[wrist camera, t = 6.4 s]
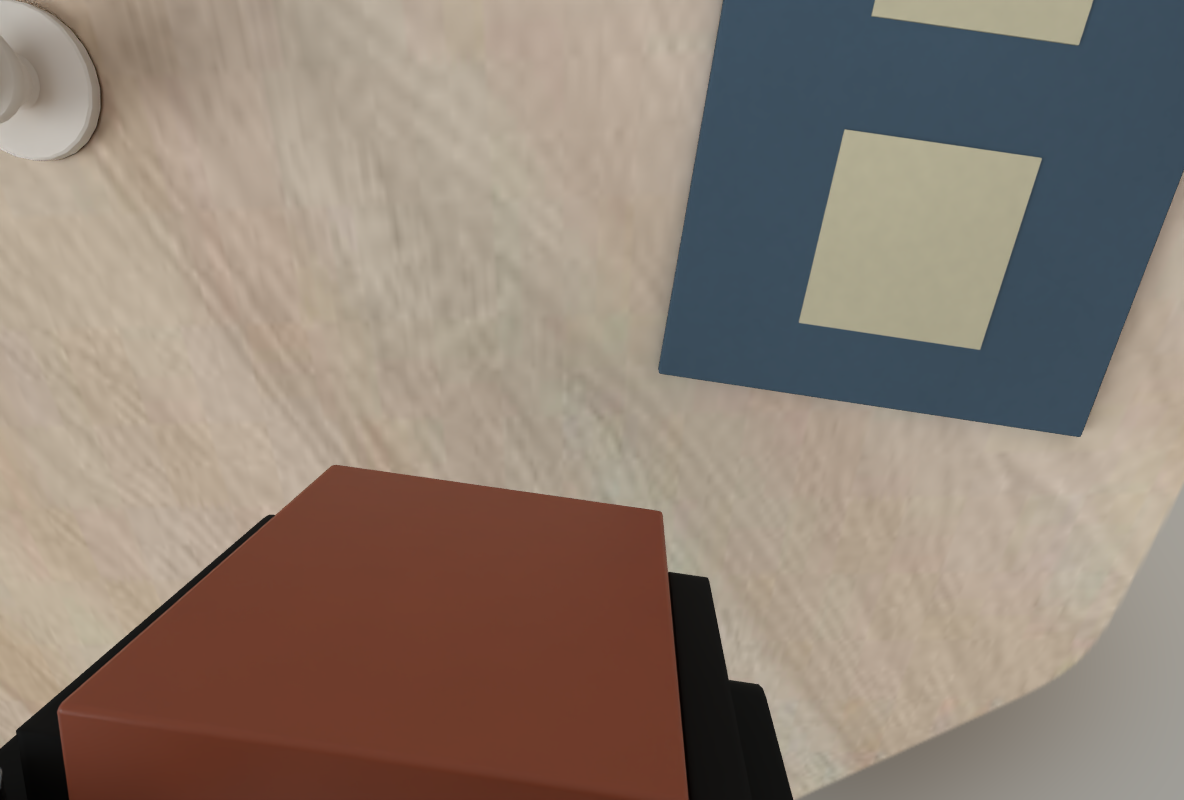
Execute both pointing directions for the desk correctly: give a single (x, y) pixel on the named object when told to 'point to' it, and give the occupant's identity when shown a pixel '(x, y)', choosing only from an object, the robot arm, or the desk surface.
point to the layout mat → (928, 201)
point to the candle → (44, 85)
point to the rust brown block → (401, 658)
